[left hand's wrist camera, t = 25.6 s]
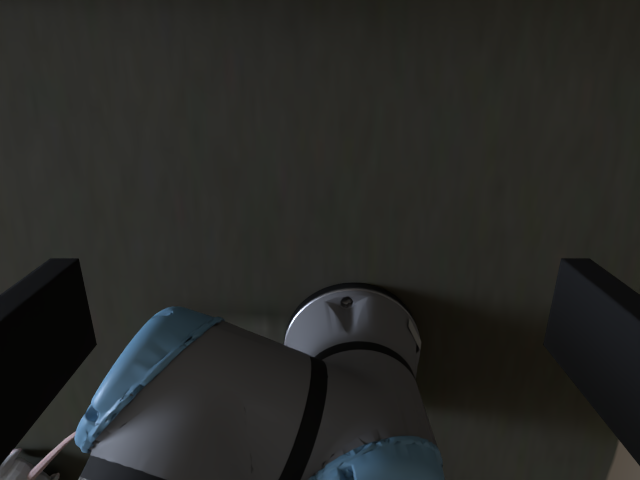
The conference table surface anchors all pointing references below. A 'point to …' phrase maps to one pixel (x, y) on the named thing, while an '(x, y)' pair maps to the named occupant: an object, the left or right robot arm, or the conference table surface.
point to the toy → (30, 465)
